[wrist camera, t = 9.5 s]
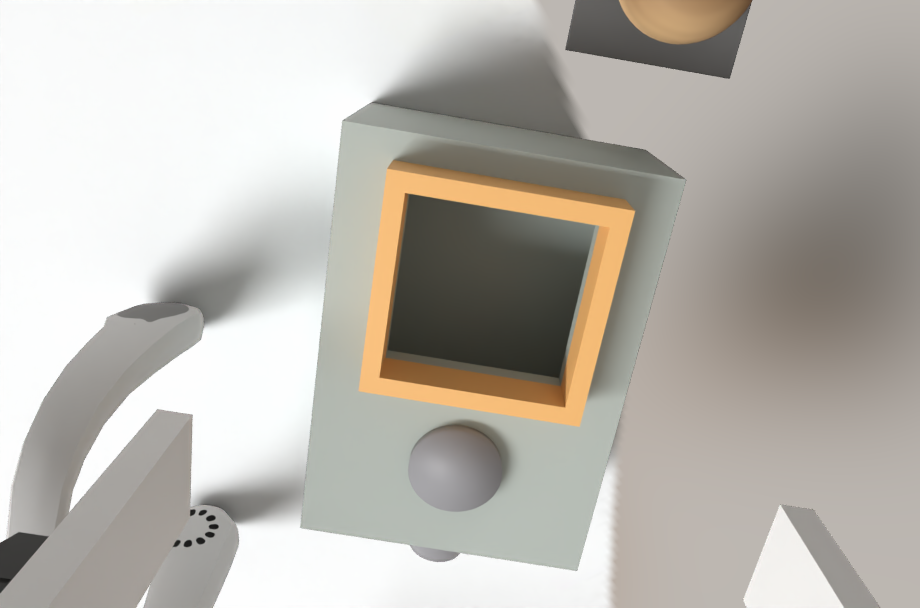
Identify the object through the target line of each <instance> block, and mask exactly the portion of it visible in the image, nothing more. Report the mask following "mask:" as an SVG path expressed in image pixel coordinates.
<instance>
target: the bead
mask: <svg viewBox="0 0 920 608" xmlns="http://www.w3.org/2000/svg"><path fill="white" fill-rule="evenodd" d="M619 2H620V5H621V7H622V9H623V11H624V13H625V14H626V16H627V17H628V19H629V20H630V21H631V22H632V24H633V25H634V26H635V27H636V28H637V29H639V30H640V31H641V32H642V33H644V34H646V35H647V36H649V37H651V38H653V39H656V40H658V41H661V42H665V43H669V44H691V43H697V42H700V41H704V40H707V39H709V38H712V37H714V36H716V35H718V34H719V33H721V32H723V31H724V30H726V29H727V28H728V27H729V26H731V25H732V24H733V23H734V22H736V21H737V20H738V19H739V18H740V17H741V16H742V14H743V13H744V12H745V11H746V9H747V8H748V7H749V5H750V4H751V2H752V0H619Z"/></svg>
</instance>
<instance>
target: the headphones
mask: <svg viewBox="0 0 920 608" xmlns="http://www.w3.org/2000/svg"><path fill="white" fill-rule="evenodd" d="M203 328H204V316H203V314H202V313H201V311H200V309H199V308H196V307H192V306H189V305H186V304H182V303H147V304H142V305H138V306H134V307H132V308H129V309H126V310H124V311H121V312H118V313H116V314H114V315H111V316H109V317H107V318H106V321H105V324H104V327H103V328H102V329H101V330H100V331H99V332H98V333H97V334H96V335H95V336H94V337H93V338H92V339H91V340H90V341H89V342H88V343H87V344H86V345H85V346H84V347H83V348H82V349H81V350H80V351H79V352H78V353H77V355H76V356H75V357H74V358H73V359H72V360H71V361H70V362H69V363H68V364H67V366H66V367H65V368H64V370H63V371H62V373H61V374H60V376H59V377H58V379H57V380H56V382H55V383H54V385H53V386H52V388H51V389H50V391H49V392H48V393H47V395H46V396H45V398H44V400H43V401H42V403H41V406H40V408H39V410H38V412H37V414H36V416H35V419H34V421H33V423H32V425H31V427H30V430H29V432H28V434H27V436H26V438H25V440H24V443H23V446H22V449H21V453H20V457H19V460H18V464H17V468H16V471H15V475H14V479H13V482H12V486H11V495H10V505H9V516H8V526H7V536H6V539H8V538H9V537H11V536H13V535H14V534H16V533H18V532H23V533H29V534H36V535H43V536H50V535H51V533H52V532H53V531H54V530H55V529H56V528H57V526H58V525H59V524H60V523H61V522H62V521H63V519H64V518H65V517H66V516H67V515H68V514H69V508H70V503H71V497H72V492H73V489H74V486H75V483H76V481H77V478H78V476H79V473H80V470H81V468H82V465H83V462H84V460H85V458H86V456H87V454H88V453H89V451H90V449H91V447H92V445H93V443H94V442H95V440H96V438H97V436H98V434H99V433H100V431H101V429H102V427H103V425H104V424H105V423H106V422H107V420H108V419H109V418H110V417H111V416H112V414H113V413H114V412H115V411H116V409H117V408H118V407H119V406H120V405H121V403H122V402H123V401H124V400H125V399H126V397H127V396H128V395H129V394H130V393H131V392H132V391H134V390H135V389H136V388H137V387H138V386H140V385H141V384H142V383H143V382H144V381H146V380H147V379H148V378H149V377H151V376H152V375H153V374H154V373H155V372H157V371H158V370H160V369H161V368H162V367H164V366H165V365H166V364H168V363H169V362H170V361H172V360H173V359H174V358H176V357H177V356H179V355H180V354H182V353H183V352H185V351H186V350H188V349H189V348H191V347H192V346H194V345H195V344H196V343H197V342H199V341H200V340H201V337H202V333H203ZM238 545H239V534H238V529H237V526H236V524H235V523H234V522H233V520H232V519H231V518H230V517H229V516H228V514H227V513H226V512H225V511H224V510H222V509H221V508H218V507H215V506H211V505H199V506H193V507H190V518H189V520H188V522H187V523H186V525H185V527H184V528H183V530H182V532H181V533H180V535H179V537H178V538H177V540H176V542H175V543H174V545H173V547H172V548H171V550H170V552H169V553H168V555H167V557H166V558H165V560H164V562H163V563H162V565H161V567H160V568H159V570H158V572H157V573H156V575H155V577H154V578H153V580H152V582H151V584H150V587H149V591H148V594H147V598H146V601H145V605H144V607H143V608H213V606H214V604H215V602H216V599H217V597H218V595H219V593H220V591H221V589H222V586H223V584H224V582H225V579H226V577H227V575H228V572H229V570H230V567H231V565H232V562H233V560H234V557H235V554H236V551H237V549H238Z"/></svg>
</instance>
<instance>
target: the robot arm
mask: <svg viewBox="0 0 920 608" xmlns="http://www.w3.org/2000/svg"><path fill="white" fill-rule="evenodd" d="M191 454H192V415H191V414H184V413H178V412H171V411H165V410H158V409H157V410H156V412H155V413H154V414H153V415H152V416H151V417H150V419H149V420H148V421H147V422H146V423H145V424H144V426H143V427H142V428H141V429H140V430H139V431H138V433H137V434H136V435H135V436H134V437H133V439H132V440H131V441H130V442H129V443H128V444H127V446H126V447H125V448H124V449H123V450H122V451H121V453H120V454H119V455H118V456H117V457H116V458H115V460H114V461H113V462H112V463H111V464H110V465H109V467H108V468H107V469H106V470H105V471H104V473H103V474H102V475H101V476H100V477H99V478H98V480H97V481H96V482H95V483H94V484H93V485H92V487H91V488H90V489H89V490H88V491H87V492H86V494H85V495H84V496H83V497H82V498H81V499H80V501H79V502H78V503H77V504H76V505H75V507H74V508H73V509H72V510H71V511H70V512H69V514H68V515H67V516H66V517H65V518H64V519H63V521H62V522H61V523H60V524H59V525H58V526H57V528H56V529H55V530H54V531H53V532H52V533H51V535H50V536H43V535H36V534H29V533H23V532H18V533H16V534H14V535H13V536H11V537H9V538H8V539H6V540H4V541H3V542H1V543H0V608H136V607H137V605H138V603H139V602H140V600H141V598H142V597H143V595H144V593H145V592H146V590H147V588H148V587H149V585H150V583H151V582H152V580H153V578H154V577H155V575H156V573H157V572H158V570H159V568H160V567H161V565H162V563H163V562H164V560H165V558H166V557H167V555H168V553H169V552H170V550H171V548H172V547H173V545H174V543H175V542H176V540H177V538H178V537H179V535H180V533H181V532H182V530H183V528H184V527H185V525H186V523H187V522H188V520H189V518H190V494H191ZM743 600H744V603H745V605H746V607H747V608H880V607H879V605H878V603H877V602H876V600H875V599H874V597H873V596H872V595H871V593H870V592H869V590H868V589H867V587H866V586H865V584H864V583H863V581H862V580H861V578H860V577H859V575H858V574H857V573H856V571H855V570H854V568H853V567H852V565H851V564H850V562H849V561H848V559H847V558H846V556H845V555H844V553H843V552H842V551H841V549H840V548H839V546H838V545H837V543H836V542H835V540H834V539H833V537H832V536H831V534H830V533H829V531H828V530H827V528H826V527H825V526H824V524H823V523H822V521H821V520H820V518H819V517H818V515H817V514H816V512H815V511H814V510H813V509H807V508H800V507H792V506H786V505H780V506H779V509H778V511H777V514H776V516H775V519H774V522H773V524H772V527H771V529H770V532H769V535H768V537H767V540H766V542H765V545H764V548H763V550H762V553H761V555H760V558H759V560H758V563H757V566H756V569H755V571H754V574H753V576H752V579H751V581H750V584H749V587H748V589H747V592H746V594H745V597H744V599H743Z"/></svg>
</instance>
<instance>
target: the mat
mask: <svg viewBox="0 0 920 608" xmlns="http://www.w3.org/2000/svg"><path fill="white" fill-rule="evenodd" d="M750 6H751V4H750V5H749V7H748V8H747V9H746V11H745V12H744V13H743V14H742V16H741V17H740V18H739V19H738V20H737V21H736V22H734V23H733V24H732V25H731V26H729V27H728V28H727V29H726V30H724V31H723V32H721V33H719V34H718V35H716V36H714V37H712V38H709V39H707V40H704V41H700V42H697V43H691V44H669V43H665V42H661V41H658V40H656V39H653V38H651V37H649V36H647V35H646V34H644V33H642V32H641V31H640V30H639V29H637V28H636V27H635V26H634V25H633V24H632V22H631V21H630V20H629V19H628V17H627V16H626V14H625V13H624V11H623V9H622V7H621V5H620V2H619V0H576V1H575V5H574V10H573V15H572V20H571V25H570V30H569V35H568V40H567V45H566V50H569V51H575V52H581V53H587V54H592V55H598V56H603V57H609V58H615V59H620V60H626V61H632V62H637V63H644V64H649V65H655V66H660V67H666V68H671V69H678V70H683V71H688V72H694V73H700V74H705V75H711V76H717V77H723V78H730V75H731V72H732V69H733V65H734V62H735V58H736V55H737V51H738V48H739V44H740V41H741V37H742V34H743V30H744V27H745V23H746V20H747V16H748V13H749V9H750Z"/></svg>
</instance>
